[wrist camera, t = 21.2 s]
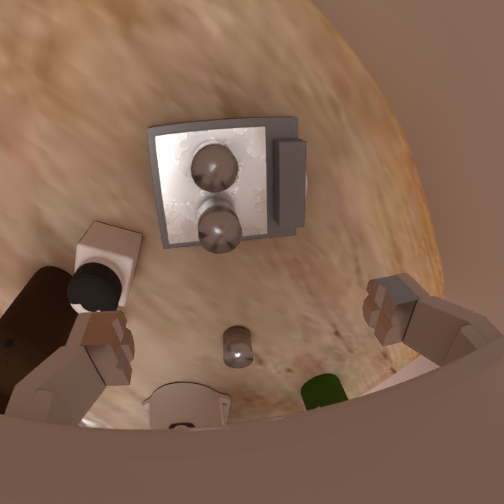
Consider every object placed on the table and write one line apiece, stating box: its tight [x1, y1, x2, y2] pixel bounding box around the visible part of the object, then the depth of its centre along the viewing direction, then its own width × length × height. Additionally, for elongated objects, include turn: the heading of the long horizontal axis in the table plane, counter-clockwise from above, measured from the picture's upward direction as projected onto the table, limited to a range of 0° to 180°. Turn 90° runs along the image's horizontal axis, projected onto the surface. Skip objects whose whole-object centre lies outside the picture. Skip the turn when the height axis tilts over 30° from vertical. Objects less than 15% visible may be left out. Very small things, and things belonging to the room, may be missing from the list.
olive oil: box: [0, 267, 79, 415], centre depth 28 cm, size 11×11×25 cm
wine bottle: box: [301, 374, 348, 411], centre depth 46 cm, size 9×9×33 cm
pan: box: [155, 126, 267, 244], centre depth 34 cm, size 13×12×1 cm
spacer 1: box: [191, 141, 239, 193], centre depth 30 cm, size 4×4×5 cm
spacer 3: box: [223, 327, 253, 368], centre depth 46 cm, size 4×4×5 cm
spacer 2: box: [197, 198, 242, 254], centre depth 33 cm, size 4×4×5 cm
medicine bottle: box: [67, 222, 142, 314], centre depth 33 cm, size 7×7×12 cm
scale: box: [147, 117, 307, 249], centre depth 34 cm, size 15×18×6 cm
